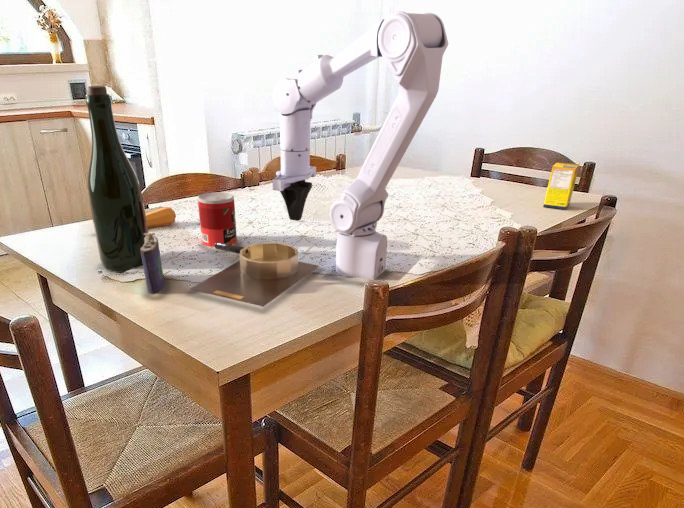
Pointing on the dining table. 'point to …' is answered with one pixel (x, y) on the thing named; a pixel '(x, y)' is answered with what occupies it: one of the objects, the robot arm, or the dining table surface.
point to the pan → (265, 260)
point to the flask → (152, 264)
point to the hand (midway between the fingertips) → (295, 219)
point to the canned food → (217, 218)
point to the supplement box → (561, 185)
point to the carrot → (160, 217)
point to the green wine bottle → (113, 190)
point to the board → (250, 284)
